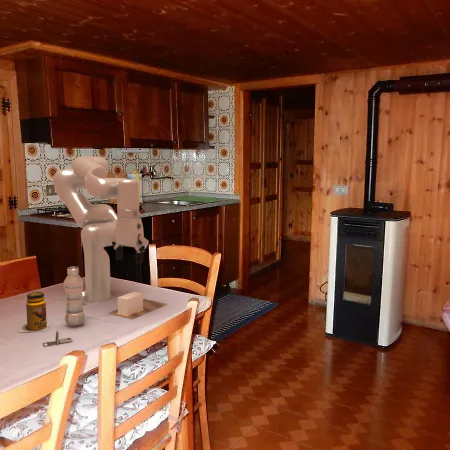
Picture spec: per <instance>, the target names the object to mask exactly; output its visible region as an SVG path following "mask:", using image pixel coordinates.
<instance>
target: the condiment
mask: <svg viewBox="0 0 450 450" xmlns="http://www.w3.org/2000/svg"><path fill="white" fill-rule="evenodd" d="M46 305H47V302H46V300H45V292H43V291H33V292H30V293H27V295H26V303H25V306H26V307H25V308H26V309H25V310H26V323H23V324H22V326H21V328H20V330H19V331H18V333H31V332H33V333H34V332H46V331H47V330H48V328H49V325H50V322H47V306H46Z"/></svg>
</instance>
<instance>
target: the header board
mask: <svg viewBox="0 0 450 450" xmlns="http://www.w3.org/2000/svg"><path fill="white" fill-rule="evenodd" d="M167 305H168V303H164V302H159V301H157V300H155V301H154V300H152V299H146V298H143V310H140V311H138V312H135V313H133V314H131V315H128V316H125V315H121V314H118V308H116V309H114V310H112V311H110V312H107V314H108V315H112V316H116V317H121V318H125V319H128V320H132V321H133V320H136V319H137V318H139V317H142V316H144V315H147V314H149V313H150V312H151V313H152V312H154V311H155V310H159V309H161V308H163V307H165V306H167Z"/></svg>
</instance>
